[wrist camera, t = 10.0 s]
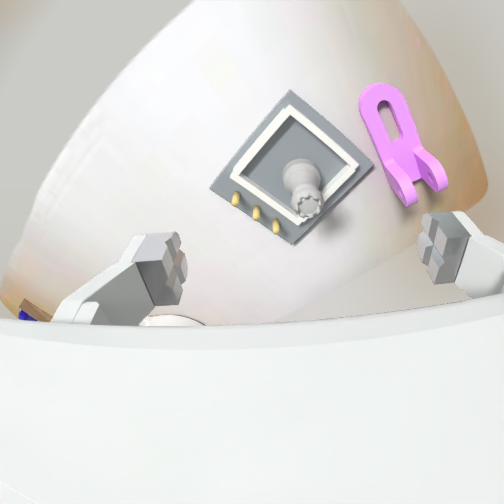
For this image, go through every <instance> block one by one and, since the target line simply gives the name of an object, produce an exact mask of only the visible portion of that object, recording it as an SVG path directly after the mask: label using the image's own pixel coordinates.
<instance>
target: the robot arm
mask: <svg viewBox="0 0 504 504" xmlns="http://www.w3.org/2000/svg"><path fill="white" fill-rule="evenodd" d="M421 226H422V228H423V231H422V233H421V234H420V235H419V237H418V243H417V248H418V255H419V258H420V260H421V261H422V263H423V264H425V265H427V266H428V269H427V273H428V274H429V276H430V278H431V280H432V282H433V283H434V284H443V283H453V282H455V284H456V285H457V286H458V287H460V288H461V289H462V290H463V291H464V292H465V293H467V294H468V295H469V296H470V297H471V298H472V299H470V300H465V301H459V302H453V303H447V304H441V305H435V306H429V307H422V308H415V309H408V310H401V311H393V312H385V313H377V314H369V315H360V316H350V317H340V318H331V319H320V320H306V321H294V322H278V323H261V324H240V325H212V326H204V325H203V324H201V323H199V322H197V321H195V320H192V319H189V318H186V317H182V316H177V315H161V316H155V317H150V316H147V315H148V314H149V313H150V312H151V311H152V310H153V309H154V308H155V306H165V305H179V302H180V298H181V295H182V291H183V289H182V287H181V284H183V283H184V282H185V281H186V277H187V260H186V257H185V254H184V253H183V252H182V251H181V250H180V249H179V248H180V245H181V240H180V237H179V234H178V233H177V232H164V233H152V234H141V235H135V236H133V237H132V239H131V241H130V243H129V244H128V246H127V248H126V249H125V251H124V253H123V254H122V256H121V258H120V260H119V261H118V263H117V264H113V265H111V266H110V267H108V268H107V269H105V270H104V271H103V272H101V273H100V274H98V275H97V276H96V277H94V278H93V279H91V280H90V281H89V282H87V283H86V284H84V285H83V286H82V287H80V288H79V289H78V290H76V291H75V292H73V293H72V294H71V295H69V296H68V297H67V298H65V299H64V300H63V301H62V302H61V304H60V306H59V307H58V309H57V311H56V313H55V314H54V316H53V318H52V320H51V321H50V322H39V321H27V320H15V319H6V318H0V504H504V244H502V243H501V242H499V241H497V240H495V239H493V238H491V237H489V236H484V235H483V234H482V232H481V231H479V229H478V228H477V227H476V225H475V224H474V223H473V222H472V221H471V220H470V219H469V218H468V216H467V215H466V214H465V213H464V212H462V211H451V212H437V213H425V214H424V215H423V217H422V221H421Z"/></svg>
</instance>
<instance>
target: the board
mask: <svg viewBox="0 0 504 504" xmlns="http://www.w3.org/2000/svg"><path fill="white" fill-rule="evenodd" d="M300 158H302V159H308V160H310V161H312V162H313V163H315V164H316V166H317V167H318V168H319V172H320V177H321V180H320V185H319V187H318V190H319V191H320V193H321V194H322V195H323V197H324V206H323V208H322V210H321V212H320V213H319V215H317V214H316V215H315V216H314V218H312V219H309V217H304V218H302V217H300V216H299V215H297V214H296V213H295V212H294V211H293V210H292V207H291V199H292V194H290V193H289V192H288V191H287V189H286V188H285V187H284V184H283V181H282V172H283V169H284V168H285V166H286V165H287V164H288V163H289V162H291V161H292V160H295V159H300ZM373 165H374V164H373V163H372V161H371V160H370V159H369V158H368V157H367V156H365V155H364V154H363V153H362V152H361V151H360V150H359V149H358V148H357V147H356V146H355V145H354V144H353V143H352V142H351V141H350V140H349V139H347V138H346V137H345V136H344V135H343V134H342V133H341V132H340V131H339V130H338V129H336V128H335V127H334V126H333V125H332V124H331V123H330V122H329V121H327V120H326V119H325V118H324V117H323V116H322V115H320V114H319V113H318V112H317V111H316V110H314V109H313V108H312V107H311V106H310V105H308V104H307V103H306V102H305V101H304V100H302V99H301V98H300V97H299V96H297V95H296V94H295V93H293V92H292V91H291V90H289V91H288V92H287V93H286V94H285V95H284V96H283V98H282V99H281V100H280V101H279V102H278V103H277V104H276V106H275V107H274V108H273V109H272V110H271V111H270V113H269V114H268V115H267V116H266V117H265V118H264V120H263V121H262V122H261V123H260V124H259V126H258V127H257V128H256V129H255V130H254V132H253V133H252V134H251V135H250V137H249V138H248V139H247V140H246V141H245V143H244V144H243V145H242V146H241V148H240V149H239V150H238V151H237V153H236V154H235V155H234V156H233V158H232V159H231V160H230V161H229V163H228V164H227V165H226V166H225V168H224V169H223V170H222V171H221V173H220V174H219V175H218V177H217V178H216V179H215V181H214V182H213V183H212V184H211V186H210V190H212V191H213V192H215V193H216V194H218V195H219V196H221V197H222V198H224V199H225V200H227V201H228V202H230V203H231V204H232V206H234V207H237V208H239V209H240V210H242V211H243V212H245V213H246V214H247V215H249V216H250V217H252V218H253V220H255V221H258V222H259V223H261V224H262V225H264V226H265V227H267V228H268V229H270V230H271V231H272V232H273V233H274V234H277V235H278V236H280V237H281V238H283V239H284V240H285V241H287V242H288V243H290V244H291V245H292V244H293V243H294V242H295V241H296V240H297V239H298V238H299V237H300V236H301V235H303V234H304V233H305V232H306V231H307V230H308V229H309V228H310V227H311V226H312V225H313V224H314V223H315V222H316V221H317V220H318V219H319V218H320V217H321V216H322V215H323V214H324V213H325V212H326V211H327V210H328V209H329V208H330V207H331V206H332V205H333V204H334V203H335V202H336V201H337V200H338V199H339V198H340V197H342V196H343V195H344V194H345V193H346V192H347V191H348V190H349V189H350V188H351V187H352V186H353V185H354V184H355V183H356V182H357V181H358V180H359V179H360V178H361V177H362V176H363V175H364V174H365V173H366V172H367V171H368V170H369V169H370V168H371V167H372V166H373Z"/></svg>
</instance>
